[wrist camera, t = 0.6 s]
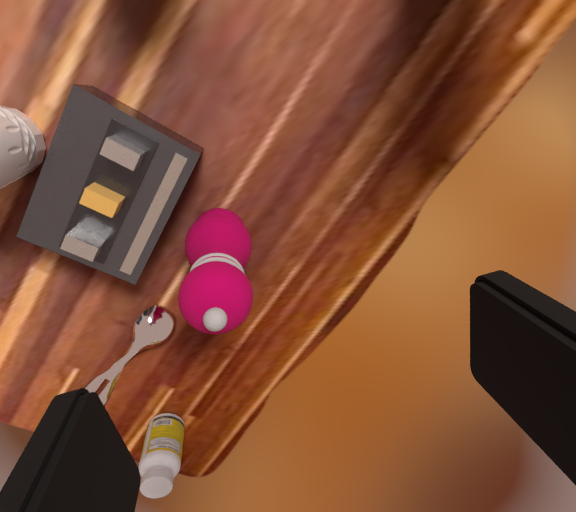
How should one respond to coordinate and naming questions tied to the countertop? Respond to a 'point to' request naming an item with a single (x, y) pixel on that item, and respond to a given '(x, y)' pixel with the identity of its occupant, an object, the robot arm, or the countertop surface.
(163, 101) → the countertop surface
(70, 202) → the breaker panel
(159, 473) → the supplement bottle
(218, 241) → the pepper mill
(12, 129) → the white cup
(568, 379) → the robot arm
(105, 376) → the silver spoon
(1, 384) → the countertop surface
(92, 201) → the breaker paddle
